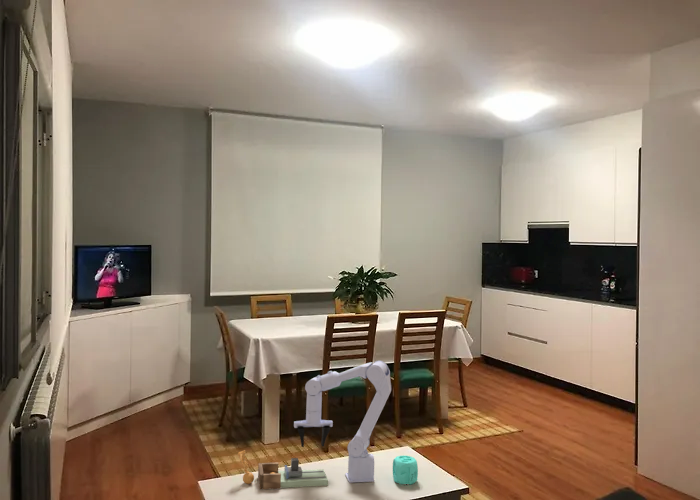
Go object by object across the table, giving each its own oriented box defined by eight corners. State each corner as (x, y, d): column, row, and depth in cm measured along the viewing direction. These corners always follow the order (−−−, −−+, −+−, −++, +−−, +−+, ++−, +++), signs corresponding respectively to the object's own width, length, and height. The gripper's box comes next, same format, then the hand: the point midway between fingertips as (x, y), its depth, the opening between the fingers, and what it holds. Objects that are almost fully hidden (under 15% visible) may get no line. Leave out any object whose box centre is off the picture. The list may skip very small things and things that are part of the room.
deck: (323, 474, 220) (323, 468, 220) (327, 485, 210) (328, 479, 210) (277, 476, 217) (278, 470, 217) (280, 487, 207) (280, 481, 207)
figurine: (253, 488, 205) (254, 454, 205) (235, 488, 205) (236, 454, 205) (254, 478, 214) (255, 446, 214) (237, 479, 213) (238, 446, 213)
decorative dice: (395, 485, 213) (396, 463, 213) (392, 476, 221) (392, 455, 221) (417, 485, 214) (418, 463, 213) (413, 476, 221) (413, 455, 221)
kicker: (300, 470, 217) (300, 455, 217) (302, 477, 210) (303, 462, 210) (284, 471, 215) (284, 456, 215) (286, 478, 209) (286, 463, 209)
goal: (277, 475, 217) (278, 462, 217) (280, 488, 206) (280, 474, 206) (258, 476, 216) (258, 463, 216) (259, 489, 205) (260, 475, 205)
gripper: (330, 406, 227) (329, 441, 227) (293, 407, 224) (292, 442, 224) (334, 411, 220) (332, 447, 221) (295, 412, 217) (294, 449, 218)
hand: (312, 445), depth 222 cm, fingers open, 7 cm apart
